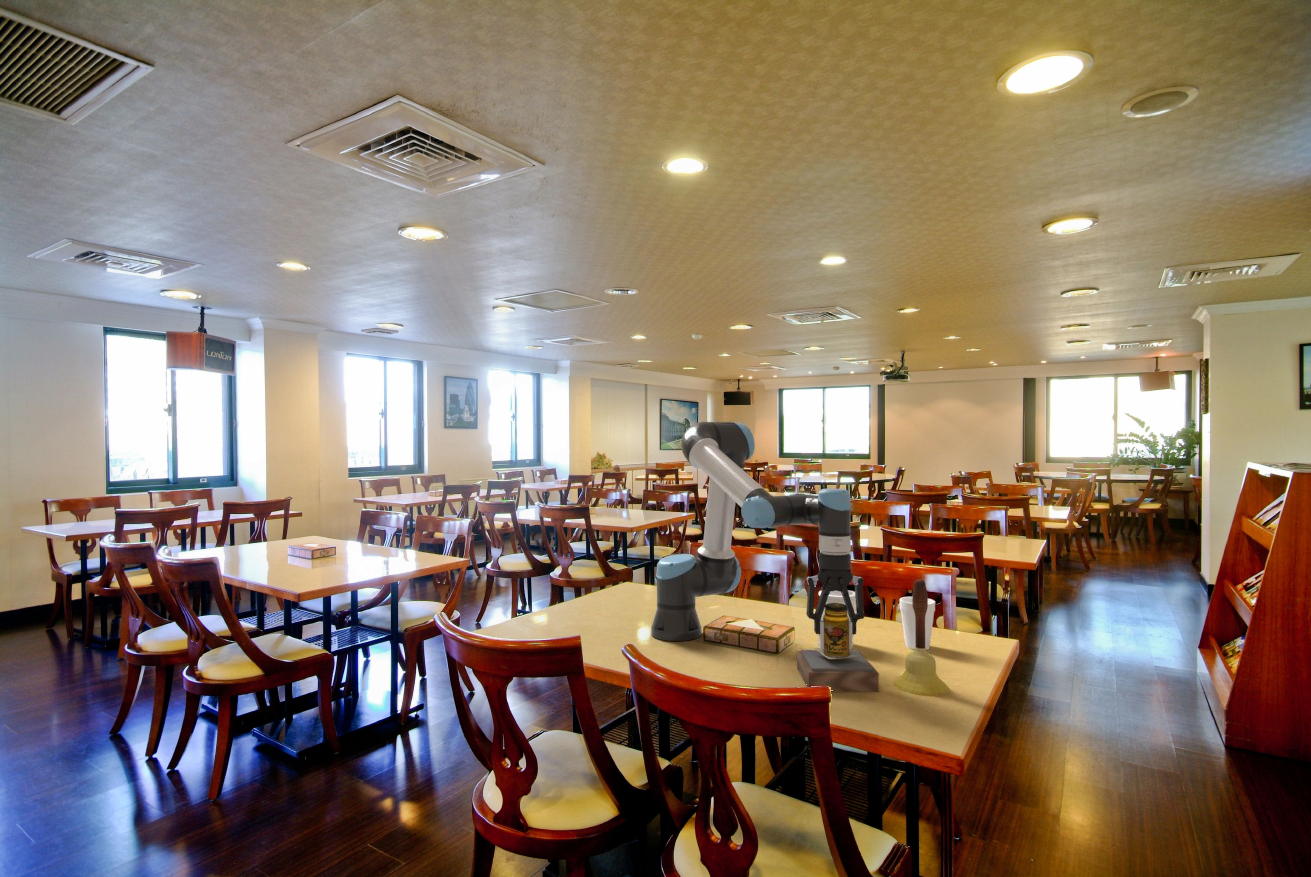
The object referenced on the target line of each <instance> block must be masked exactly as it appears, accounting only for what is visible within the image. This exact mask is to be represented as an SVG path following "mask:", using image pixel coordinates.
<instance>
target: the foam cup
mask: <svg viewBox="0 0 1311 877" xmlns="http://www.w3.org/2000/svg"><path fill="white" fill-rule="evenodd" d="M899 609H900V616H901V622H902V624H901V625H902V629H903V630H902V631H903V637H904V643H905V647H906V648H907V649H911V650H915V647H916V637H915V613H914V610H913V605H912V596H903V597H900V598H899ZM935 612H936V601H935V600H934V599H932V598H928V608H927V612H926V615H925V648H926V651H928V650H929V649H930V646H931V638H932V630H933V624H934V616H935V615H934V614H935Z"/></svg>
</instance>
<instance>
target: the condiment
mask: <svg viewBox="0 0 1311 877" xmlns="http://www.w3.org/2000/svg"><path fill="white" fill-rule="evenodd" d="M823 622H824V649H820V647H819V648H818V647H817V648H814V650H816V651H818V652H820V653H821V654H822V655H824V656H825V657H827V658H828V659H842V658H850V657H857V656H856V655H854V654H852V653H851V652H849V650H850V649H849V618H848V616H847V606H846V605H845V604H841V603H828V604H826V605H825V615H824V617H823Z"/></svg>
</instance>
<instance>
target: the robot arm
mask: <svg viewBox="0 0 1311 877" xmlns="http://www.w3.org/2000/svg"><path fill="white" fill-rule="evenodd" d="M755 443H756V442H755V438H754V435H753V433H752V432H751V429H750V428H749V426H747V425H746V424H745V423H742V422H737V421H736V422H735V421H699V422H696V423H694V424H692V425H691V426H688V427H687V429H686V430H685V432H684V433H683V435H682V437H681V442H680V444H681V446H680V447H681V453H682V454H683V456H684V458H685V460H686V461H687V462H688V463H689V464H690V465H691V466H692V467H693V468H695V469H700V470H701V471H703V472H704V473H705V475H707V476H708V477H709V481H708V482H709V483H708V491H707V492H708V493H707V502H706V513H705V521H704V522H705V523H704V530H703V531H704V534H703V541H702V542H703V543H702V545H701V546H700V547H698V548H697V550H696V551H697V553H696V557H695V556H694V555H693V554H690V553H680V554H679V553H677V554H672V555H671V554H670V555H668V556H665V557H663V558H660V559H659V561H658V562H657V564H656V573H655V576H656V611H655V614H654V617H653V620H652V623H651V627H650V628H651V636H652V637H653V638H655V639H657V640H661V641H669V642H685V641H691V640H695V639H699V637H701V636H702V625H701V622H700V618H699V615H698V612H697V609H696V598H700V597H705V596H714V595H723V594H725V593H726V594H727V593H731V592H732V591H734V590H735V589H736V587H738V585H739V583H740V580H741V576H742V568H741V566H740V564H741V563H740V561H739V559H738V558H737V557H736V553H735V551H734V550H733V549H732V548H731V547H732V538H733V530H734V529H733V527H734V521H735V520H734V519H735V508H736V504H737V506H739V507H740V508H741V517H742V519H743V522H744V524H745V525H746V526H748V527H749V528H754V529H755V528H756V529H767V528H775V527H785V526H786V527H787V526H797V525H812V526H817V527H818V551H820V552H819V553H818V572H817V573H816V575H813V576H809V575H807V576H806V582H807V600H806V616H807V617H808V619H810V620H813V623H814V624H813V626H814V628H813V631H814V633H815V635H817V636H818V647H819V648H820V649H824V622H823V620H822V619H821V617H822V614H823V611H824V608H825V605H826V601H827V598H828V596H829V594H830V591H841V593H842V596H843V599H844V602H845V605H846V606H847V612H848V615H849V618H850V619H849V650H853V647H852V642H853V639H852V634H854V635H857V622H858V621H859V620H864V618H865V610H864V609H865V608H864V596H863V594H864V593H863V586H864V582H865V580H864V578H863V577H861V576H859V575H858V576H856V575H853V573H852V555H851V554H850V552H851V549H852V548H851V547H852V546H851V542H852V541H851V536H852V535H851V512H852V511H851V510H852V505H851V503H852V502H851V494H850V491H849V490H848V489H845V488H822V489H820V490H818V495H816V494H815V495H814V494H813V495H812V494H805V493H791V494H789V495H772V494H771V493H770V492H769V491H767V490H766V489H765V488H764V487H763V486H761V485H760V484H759V482H757V481H756V480H754V479H753V478H752V477H751V476H750V475H749V474H748V472H747V471H745V470H744V469H745V464H746V461H748V460H750V459H751V458H752V456H753V455H754V453H755V448H756V446H755ZM818 581H819V582H820V584H821V585H822V587H821V590H820V591H821V595H820V596H819V598H818V601H817V604H816V608H815V595H816V586H817V582H818ZM851 582H852V583H853V586H854V592H855V602H856V612H857V613H855V612H854V609H853V606H852V603H851V600H850V597H849V593H848V586H849V585H850V583H851ZM814 608H815V610H814Z"/></svg>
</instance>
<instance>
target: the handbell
mask: <svg viewBox="0 0 1311 877" xmlns="http://www.w3.org/2000/svg"><path fill="white" fill-rule="evenodd" d="M911 595H912V596H911V597H912V605H913V610H914V613H915V637H916V647H915V649H913V651H911V652H909V653H908V654H907V655H906V657H905V664H904V665H905V670H904V672H902V673H901V674H900V675H899V676H897V677H896V678H895V679H894V681H893V683H892V684H893V686H894V687H895V688H896V689H897V690H900V691H902V692H904V693H908V694H911V695H916V696H924V697H925V696H926V697H937V696H943V695H946V694H948V693H949V692H950V689H949V686H948V685H947V683H945V681H943V680H942V679H941V678H940V677H939V676H938V674H937V665H936V664H937V663H936V659H935V657H934V656H933V655H932V654H930V653H929V652H928V650H926V648H925V615H926V612H927V608H928V599H929V598H928V590H927V586H926V581H925V580H923V579H915V580H914V583H913V589H912V594H911Z"/></svg>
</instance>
